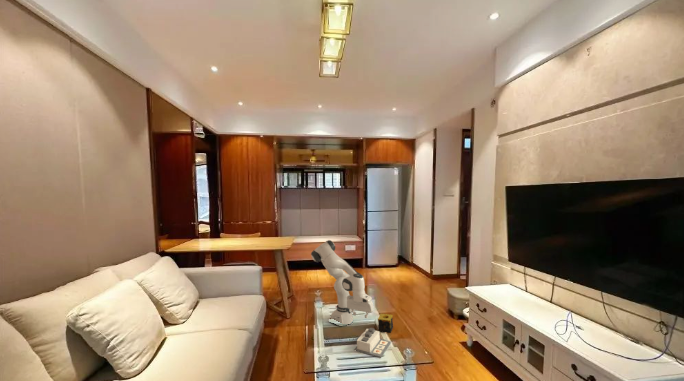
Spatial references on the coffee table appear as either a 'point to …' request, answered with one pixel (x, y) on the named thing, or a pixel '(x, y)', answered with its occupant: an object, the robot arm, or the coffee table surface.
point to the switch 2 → (368, 334)
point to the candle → (385, 323)
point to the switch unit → (372, 345)
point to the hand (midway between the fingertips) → (360, 316)
